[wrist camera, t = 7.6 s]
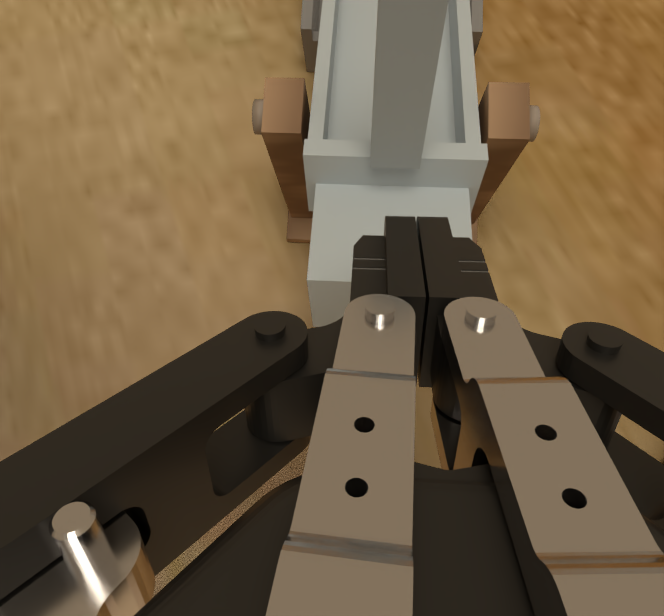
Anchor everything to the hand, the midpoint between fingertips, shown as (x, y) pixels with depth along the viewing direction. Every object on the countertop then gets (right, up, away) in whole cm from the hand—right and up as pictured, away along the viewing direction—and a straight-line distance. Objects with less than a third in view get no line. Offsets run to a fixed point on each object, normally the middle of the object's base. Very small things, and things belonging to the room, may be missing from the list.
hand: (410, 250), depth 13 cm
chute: (+1, +6, +14) cm, 15 cm away
